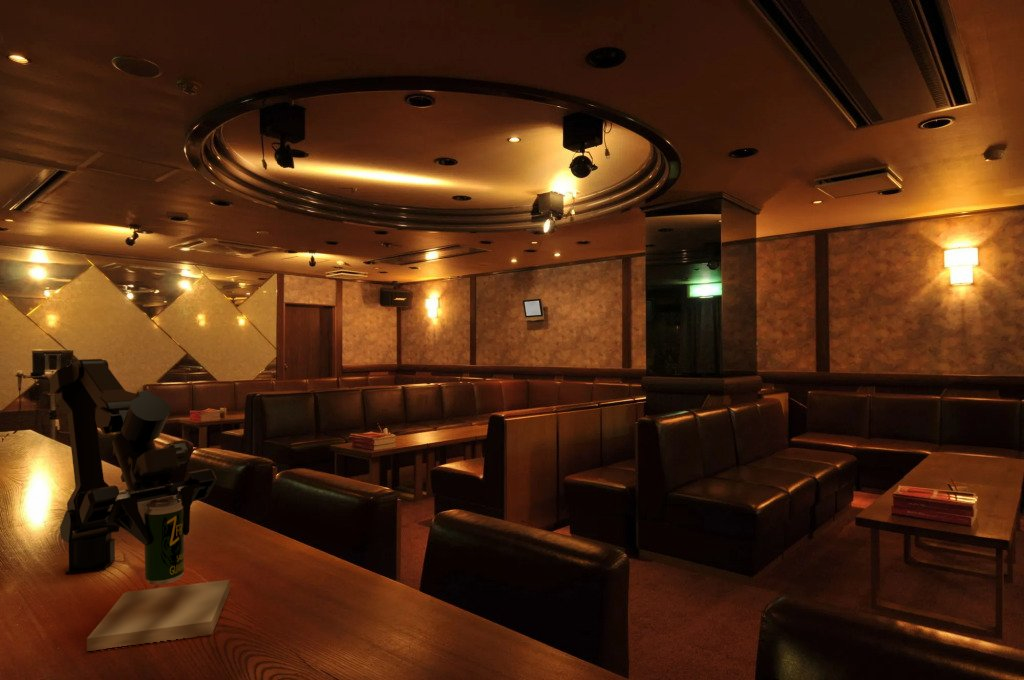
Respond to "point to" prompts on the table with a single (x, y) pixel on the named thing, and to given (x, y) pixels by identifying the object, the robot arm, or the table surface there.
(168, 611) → the serving board
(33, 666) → the table surface
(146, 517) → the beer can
